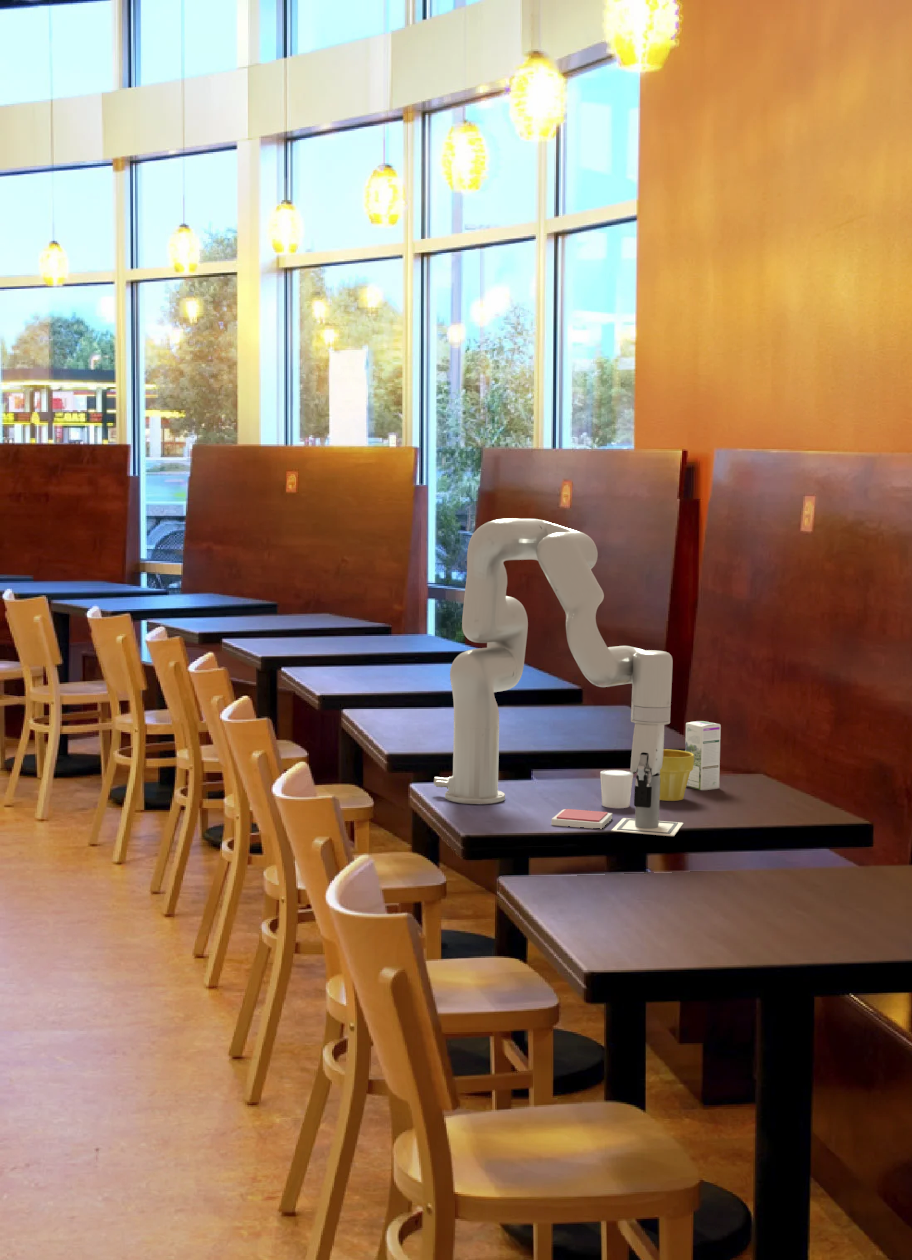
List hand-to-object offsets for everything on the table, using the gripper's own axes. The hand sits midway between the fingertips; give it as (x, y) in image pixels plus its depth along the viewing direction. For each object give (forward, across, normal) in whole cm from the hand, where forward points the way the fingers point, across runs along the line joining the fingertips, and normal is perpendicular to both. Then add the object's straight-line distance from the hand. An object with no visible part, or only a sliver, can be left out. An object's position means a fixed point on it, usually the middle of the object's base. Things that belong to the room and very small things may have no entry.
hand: (646, 802), depth 297 cm
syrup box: (+5, -46, +4) cm, 46 cm away
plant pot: (+5, -31, -1) cm, 31 cm away
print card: (+5, 0, 0) cm, 5 cm away
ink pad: (+5, 0, -13) cm, 14 cm away
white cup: (+5, -19, -10) cm, 22 cm away
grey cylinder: (+5, 0, 0) cm, 5 cm away
